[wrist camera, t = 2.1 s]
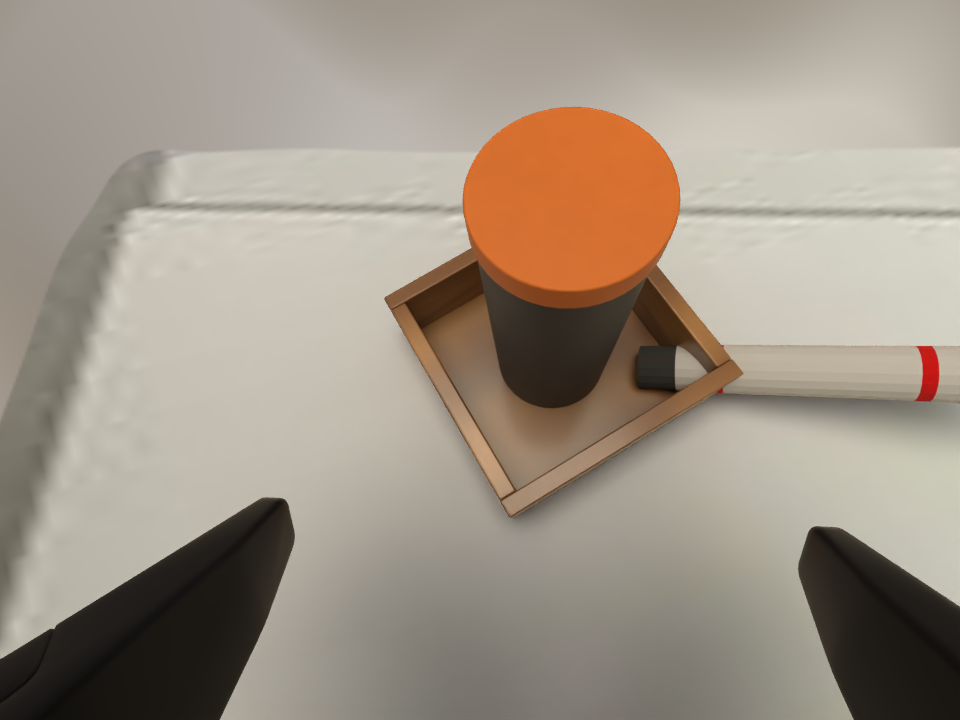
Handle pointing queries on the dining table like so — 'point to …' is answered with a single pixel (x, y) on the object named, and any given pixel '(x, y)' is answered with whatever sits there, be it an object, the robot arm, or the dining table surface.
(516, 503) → the box
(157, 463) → the dining table surface
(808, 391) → the marker
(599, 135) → the tube
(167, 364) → the dining table surface
